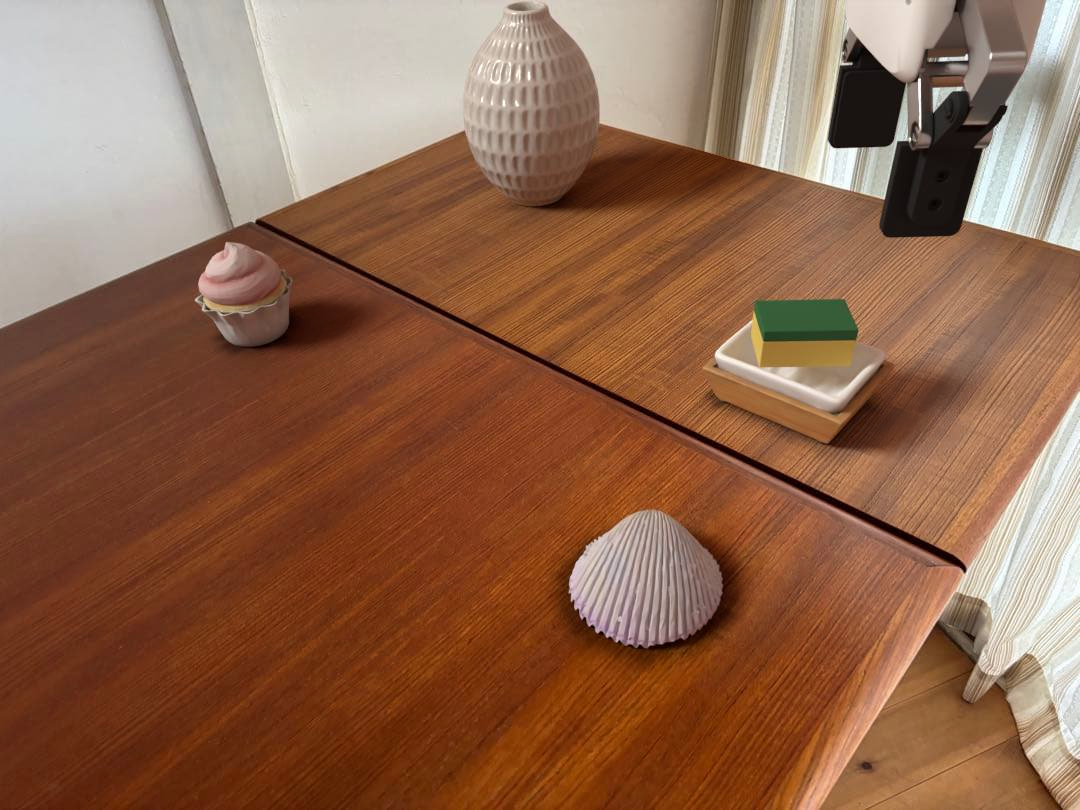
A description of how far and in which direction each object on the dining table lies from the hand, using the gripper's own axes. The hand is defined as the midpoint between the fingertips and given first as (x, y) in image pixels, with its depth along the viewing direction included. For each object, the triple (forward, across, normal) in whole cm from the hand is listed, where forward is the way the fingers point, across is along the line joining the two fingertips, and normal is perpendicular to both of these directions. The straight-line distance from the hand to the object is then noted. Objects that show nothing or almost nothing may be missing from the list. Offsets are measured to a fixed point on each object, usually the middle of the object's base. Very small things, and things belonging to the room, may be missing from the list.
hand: (885, 185), depth 40 cm
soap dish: (+28, +20, -3) cm, 35 cm away
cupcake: (+28, +32, +48) cm, 64 cm away
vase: (+28, +62, +21) cm, 71 cm away
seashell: (+28, -1, +10) cm, 30 cm away
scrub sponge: (+23, +20, -3) cm, 31 cm away
